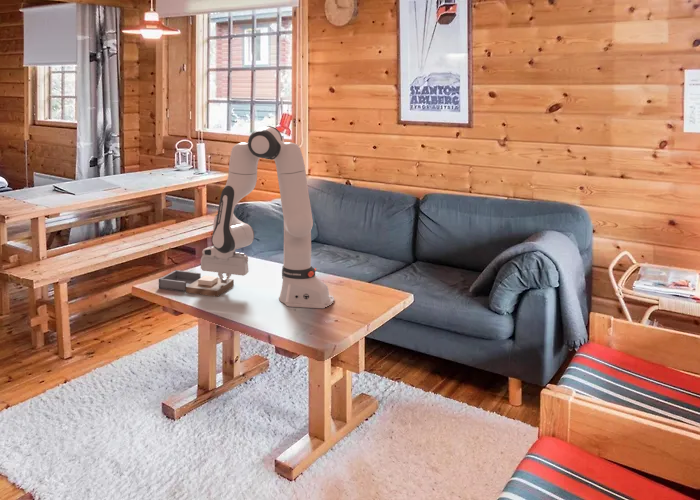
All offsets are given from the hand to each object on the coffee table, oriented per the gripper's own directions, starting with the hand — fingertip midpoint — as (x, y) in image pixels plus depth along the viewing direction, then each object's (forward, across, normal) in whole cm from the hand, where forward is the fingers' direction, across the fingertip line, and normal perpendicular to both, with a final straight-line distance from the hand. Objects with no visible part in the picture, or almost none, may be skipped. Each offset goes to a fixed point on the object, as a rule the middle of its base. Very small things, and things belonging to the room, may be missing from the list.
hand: (224, 282), depth 267 cm
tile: (+1, +8, 0) cm, 8 cm away
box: (+4, +21, 0) cm, 21 cm away
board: (+4, +7, 0) cm, 7 cm away
